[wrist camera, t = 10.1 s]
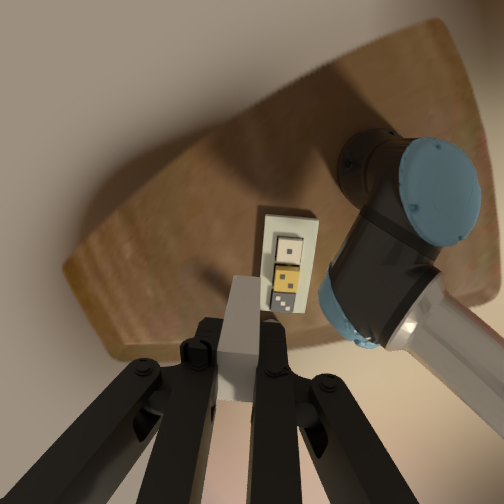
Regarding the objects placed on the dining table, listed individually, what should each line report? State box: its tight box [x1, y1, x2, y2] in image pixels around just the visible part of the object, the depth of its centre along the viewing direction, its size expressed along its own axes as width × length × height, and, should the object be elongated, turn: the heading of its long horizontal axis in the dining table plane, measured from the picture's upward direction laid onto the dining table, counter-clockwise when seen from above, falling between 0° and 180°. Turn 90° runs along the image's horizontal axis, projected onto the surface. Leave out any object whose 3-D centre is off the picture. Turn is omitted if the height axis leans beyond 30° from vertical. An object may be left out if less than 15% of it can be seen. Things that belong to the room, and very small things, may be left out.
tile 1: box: [276, 236, 303, 263], centre depth 50 cm, size 4×4×2 cm
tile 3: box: [271, 289, 295, 313], centre depth 53 cm, size 4×4×2 cm
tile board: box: [260, 214, 319, 313], centre depth 52 cm, size 18×9×2 cm, turn 176°
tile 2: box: [274, 265, 300, 293], centre depth 51 cm, size 4×4×2 cm
